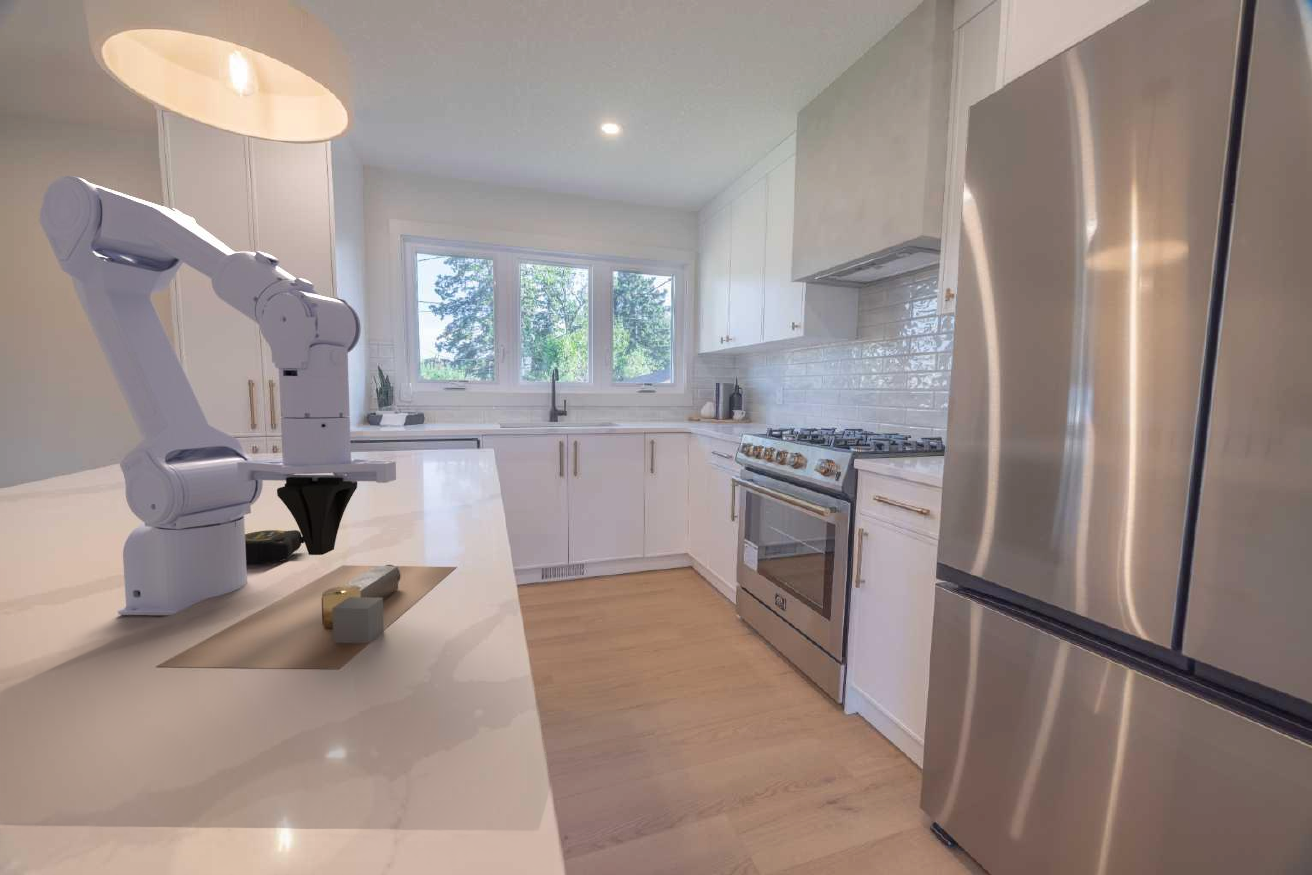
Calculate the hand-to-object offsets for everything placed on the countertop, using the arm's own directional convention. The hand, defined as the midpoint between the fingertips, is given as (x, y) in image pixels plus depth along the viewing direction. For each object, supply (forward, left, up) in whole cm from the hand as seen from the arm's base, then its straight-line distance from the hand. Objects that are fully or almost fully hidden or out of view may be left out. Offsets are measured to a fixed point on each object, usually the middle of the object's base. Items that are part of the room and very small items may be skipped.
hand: (321, 552), depth 52 cm
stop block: (+8, -8, -5) cm, 12 cm away
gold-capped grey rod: (+5, -1, -5) cm, 7 cm away
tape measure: (-18, +17, -7) cm, 26 cm away
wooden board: (+2, -1, -7) cm, 7 cm away
